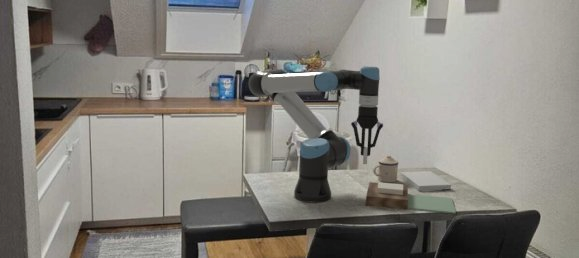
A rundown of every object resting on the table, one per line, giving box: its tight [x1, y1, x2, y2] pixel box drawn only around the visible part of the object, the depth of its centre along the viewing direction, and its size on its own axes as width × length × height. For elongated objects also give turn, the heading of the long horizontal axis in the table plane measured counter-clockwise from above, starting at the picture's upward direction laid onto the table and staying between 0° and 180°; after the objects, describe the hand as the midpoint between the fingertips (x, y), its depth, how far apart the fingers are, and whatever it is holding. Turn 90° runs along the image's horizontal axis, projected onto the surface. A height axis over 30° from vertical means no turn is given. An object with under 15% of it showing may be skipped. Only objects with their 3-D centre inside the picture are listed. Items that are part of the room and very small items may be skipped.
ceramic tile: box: [377, 181, 404, 195], centre depth 213 cm, size 10×8×2 cm
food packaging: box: [399, 170, 452, 192], centre depth 239 cm, size 15×3×20 cm
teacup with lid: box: [373, 155, 399, 184], centre depth 242 cm, size 12×9×12 cm
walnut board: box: [365, 181, 409, 211], centre depth 214 cm, size 16×20×4 cm
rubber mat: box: [407, 193, 457, 215], centre depth 211 cm, size 18×18×1 cm
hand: (365, 163), depth 213 cm, fingers closed
